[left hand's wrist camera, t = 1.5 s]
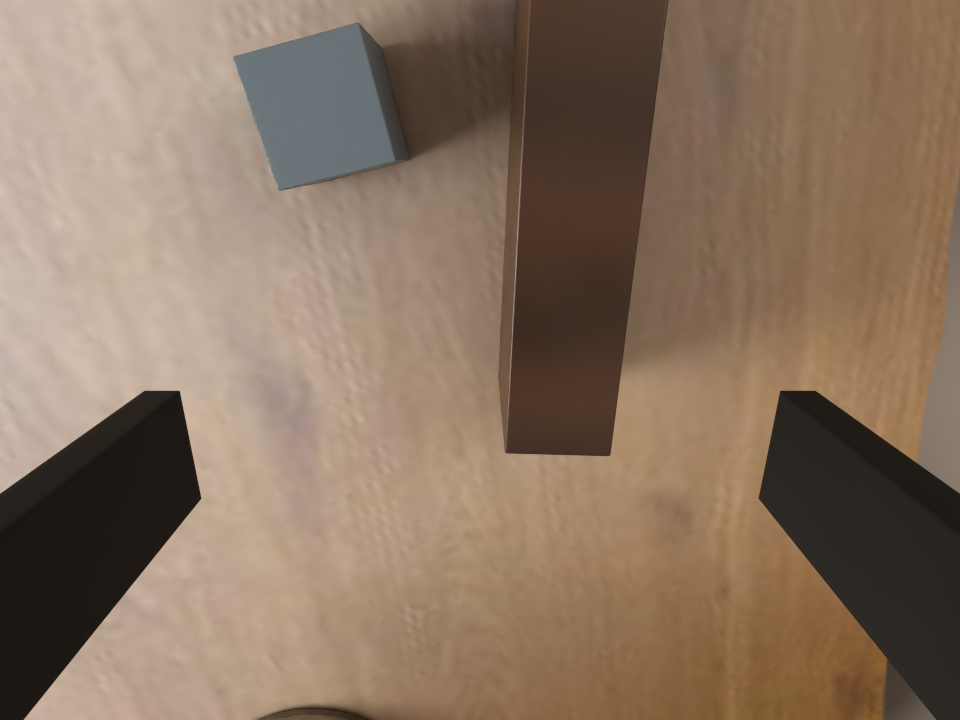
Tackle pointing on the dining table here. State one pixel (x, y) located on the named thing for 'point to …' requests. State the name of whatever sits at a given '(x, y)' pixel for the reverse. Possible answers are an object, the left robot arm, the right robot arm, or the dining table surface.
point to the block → (323, 106)
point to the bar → (573, 215)
